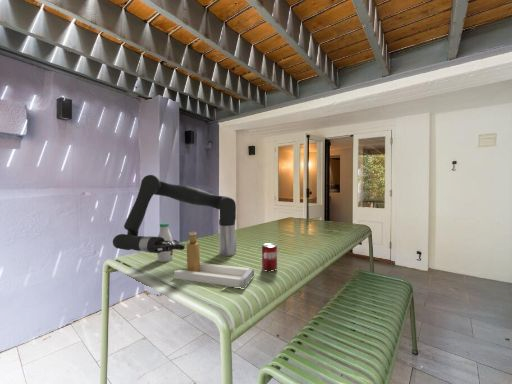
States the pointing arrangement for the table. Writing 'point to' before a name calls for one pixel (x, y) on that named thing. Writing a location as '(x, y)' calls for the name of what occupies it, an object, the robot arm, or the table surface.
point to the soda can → (269, 256)
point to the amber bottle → (193, 254)
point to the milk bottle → (166, 236)
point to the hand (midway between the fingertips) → (183, 247)
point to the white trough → (218, 275)
